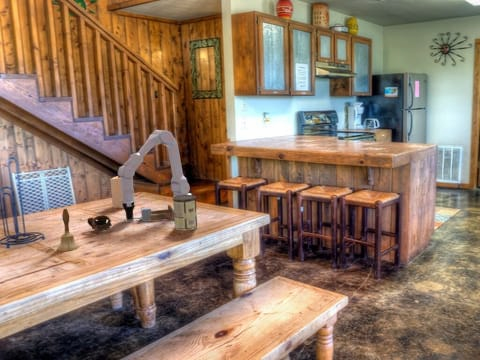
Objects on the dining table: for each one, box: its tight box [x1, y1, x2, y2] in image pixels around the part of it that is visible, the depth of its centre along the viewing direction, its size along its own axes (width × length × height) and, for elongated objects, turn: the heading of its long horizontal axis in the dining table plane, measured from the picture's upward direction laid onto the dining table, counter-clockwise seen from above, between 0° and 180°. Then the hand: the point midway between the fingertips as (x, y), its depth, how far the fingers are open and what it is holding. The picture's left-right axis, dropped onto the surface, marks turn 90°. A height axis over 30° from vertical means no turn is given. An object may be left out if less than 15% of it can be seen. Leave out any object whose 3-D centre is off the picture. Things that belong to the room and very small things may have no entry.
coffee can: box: [172, 195, 198, 232], centre depth 198 cm, size 10×10×14 cm
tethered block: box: [125, 206, 152, 223], centre depth 214 cm, size 12×4×6 cm, turn 106°
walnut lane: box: [150, 204, 174, 222], centre depth 217 cm, size 10×9×5 cm
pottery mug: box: [86, 214, 113, 235], centre depth 197 cm, size 12×10×8 cm
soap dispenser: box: [109, 166, 124, 209], centre depth 246 cm, size 13×9×22 cm
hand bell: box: [56, 208, 80, 252], centre depth 174 cm, size 8×8×16 cm
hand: (129, 218), depth 213 cm, fingers closed on tethered block, 3 cm apart
